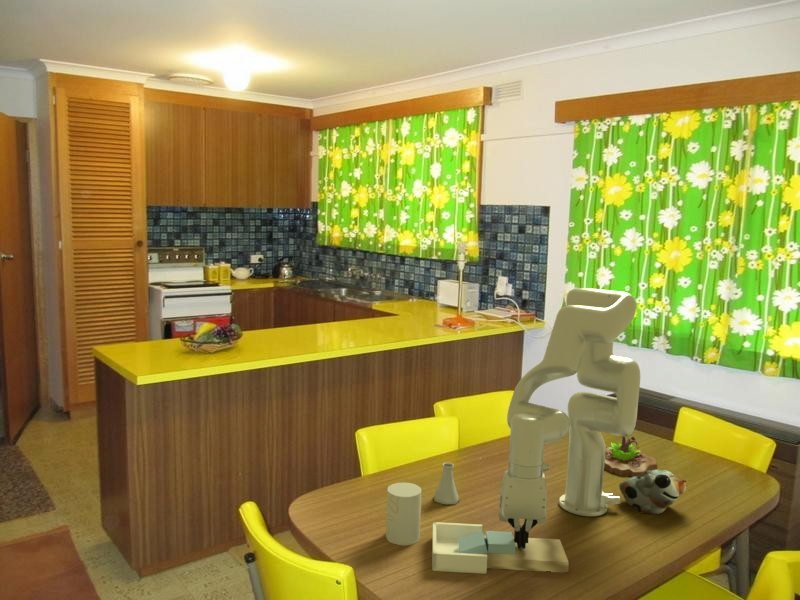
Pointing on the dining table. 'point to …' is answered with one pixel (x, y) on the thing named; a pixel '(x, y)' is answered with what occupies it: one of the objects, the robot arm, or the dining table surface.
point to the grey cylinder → (403, 513)
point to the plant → (627, 459)
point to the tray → (455, 549)
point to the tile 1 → (473, 544)
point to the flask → (446, 487)
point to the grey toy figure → (652, 491)
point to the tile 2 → (500, 542)
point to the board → (532, 557)
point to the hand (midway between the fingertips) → (520, 545)
